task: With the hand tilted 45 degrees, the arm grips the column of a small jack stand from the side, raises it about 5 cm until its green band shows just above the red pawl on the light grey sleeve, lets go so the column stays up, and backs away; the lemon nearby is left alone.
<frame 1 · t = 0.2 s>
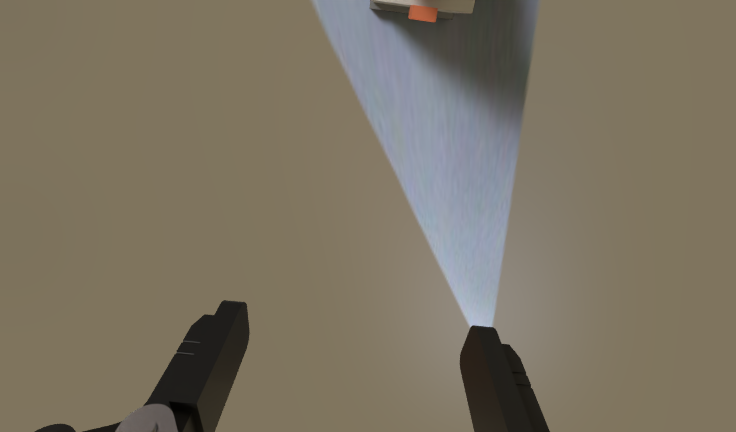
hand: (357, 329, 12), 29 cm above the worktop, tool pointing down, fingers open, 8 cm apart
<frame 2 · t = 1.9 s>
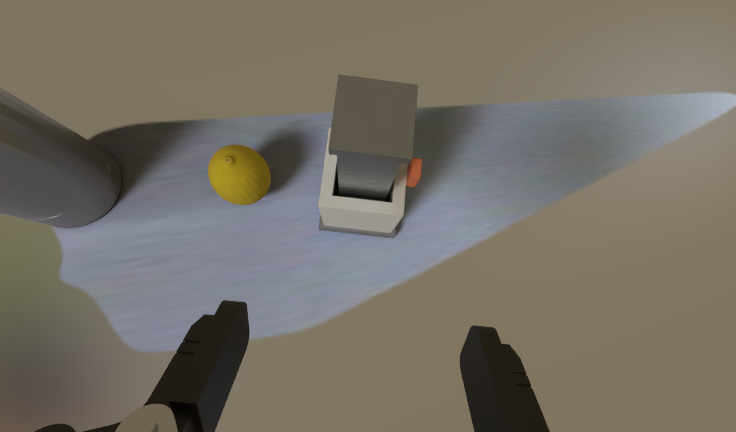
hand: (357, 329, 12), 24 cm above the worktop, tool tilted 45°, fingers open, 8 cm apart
column: (366, 167, 28), point 10 cm above the worktop, slide at 0.0 cm
stand: (360, 201, 38), on the worktop
lemon: (252, 188, 38), on the worktop
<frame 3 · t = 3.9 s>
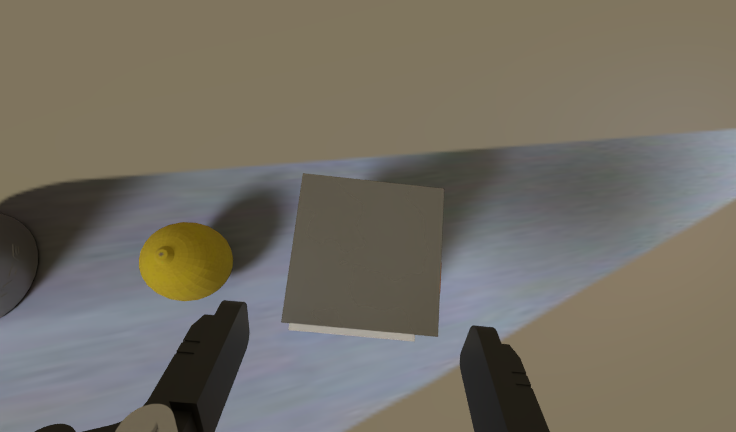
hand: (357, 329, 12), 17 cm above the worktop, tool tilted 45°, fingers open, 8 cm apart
column: (358, 271, 19), point 10 cm above the worktop, slide at 0.0 cm
stand: (354, 280, 29), on the worktop
lemon: (212, 266, 29), on the worktop
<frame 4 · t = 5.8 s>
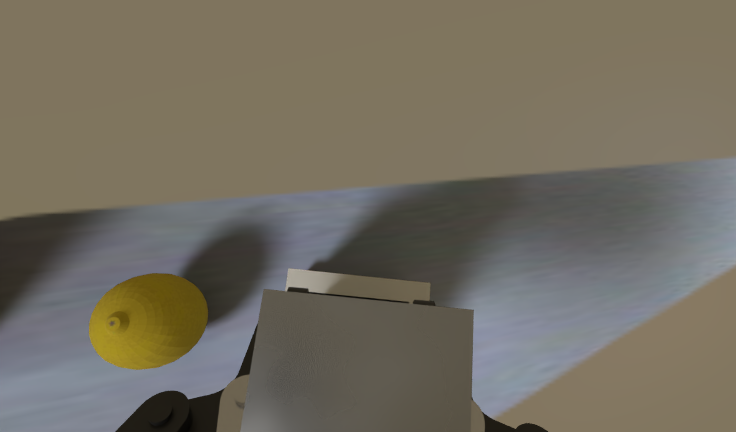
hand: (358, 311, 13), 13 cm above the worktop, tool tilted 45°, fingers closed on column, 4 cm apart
column: (352, 353, 15), point 10 cm above the worktop, slide at 0.0 cm, touching gripper
stand: (350, 331, 25), on the worktop
lemon: (186, 315, 25), on the worktop
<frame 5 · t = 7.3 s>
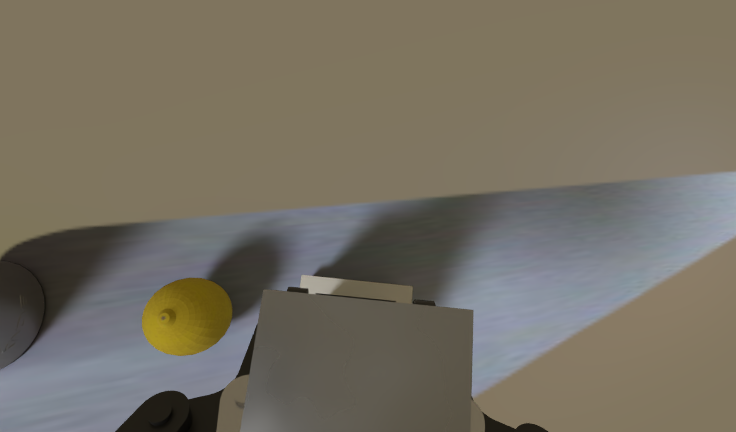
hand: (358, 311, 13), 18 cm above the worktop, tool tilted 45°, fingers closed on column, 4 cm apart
column: (352, 353, 15), point 15 cm above the worktop, slide at 4.8 cm, touching gripper
stand: (350, 326, 30), on the worktop
lemon: (212, 312, 30), on the worktop
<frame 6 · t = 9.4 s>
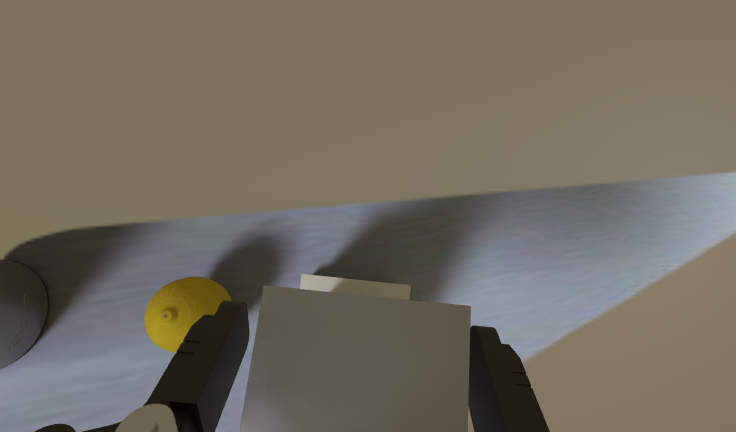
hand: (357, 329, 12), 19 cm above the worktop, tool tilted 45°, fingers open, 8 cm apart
column: (352, 351, 16), point 15 cm above the worktop, slide at 5.2 cm
stand: (349, 325, 30), on the worktop
lemon: (213, 311, 30), on the worktop
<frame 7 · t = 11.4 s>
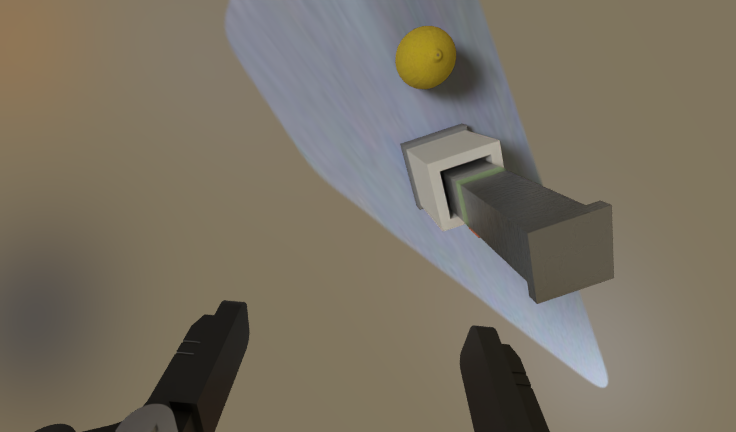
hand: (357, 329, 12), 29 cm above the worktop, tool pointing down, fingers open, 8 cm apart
column: (500, 207, 27), point 15 cm above the worktop, slide at 5.2 cm
stand: (438, 166, 41), on the worktop
lemon: (413, 61, 37), on the worktop
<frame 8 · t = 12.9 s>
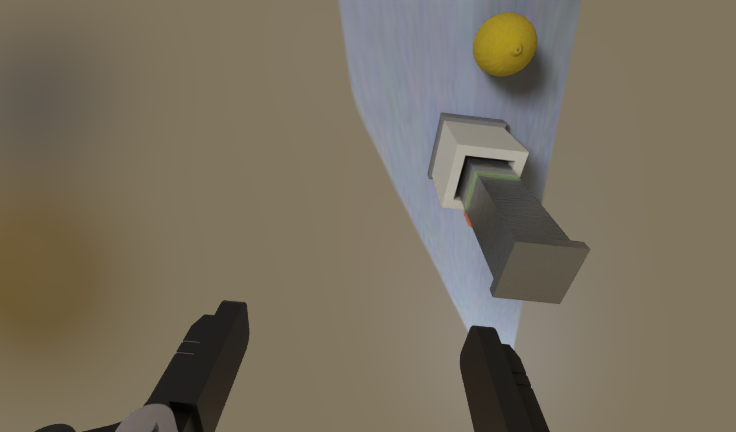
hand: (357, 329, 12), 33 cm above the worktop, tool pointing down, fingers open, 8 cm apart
column: (500, 210, 30), point 15 cm above the worktop, slide at 5.2 cm
stand: (463, 148, 43), on the worktop
lemon: (491, 41, 37), on the worktop
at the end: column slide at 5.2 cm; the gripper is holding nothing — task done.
